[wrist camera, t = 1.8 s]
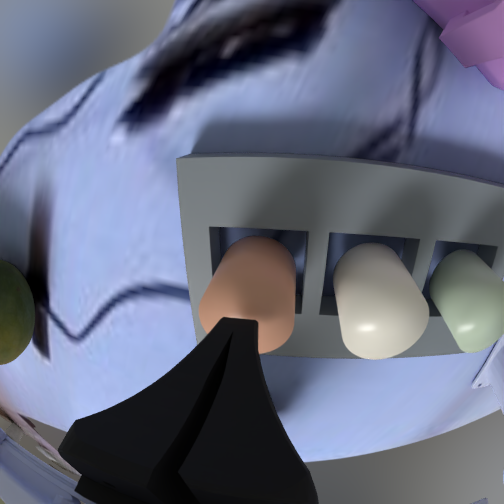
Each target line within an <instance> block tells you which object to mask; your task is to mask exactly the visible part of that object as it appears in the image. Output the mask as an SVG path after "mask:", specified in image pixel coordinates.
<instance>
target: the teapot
mask: <svg viewBox="0 0 504 504" xmlns="http://www.w3.org/2000/svg"><path fill="white" fill-rule="evenodd" d="M413 1H414V2H415V3H416V4H417V5H418V6H419V7H420V8H421V9H422V10H423V11H425V12H426V13H427V14H428V15H429V16H430V17H431V18H432V19H433V20H434V21H435V22H436V23H437V24H438V25H439V26H440V27H441V28H442V29H443V32H442V33H441V35H440V37H439V39H440V40H441V41H442V42H443V43H444V44H445V45H446V46H447V47H448V49H449V50H450V51H451V52H452V53H453V54H454V55H455V56H456V58H457V59H458V60H459V61H460V62H461V64H462V65H463V66H464V67H465V68H467V67H471V66H474V65H475V66H476V67H477V68H478V69H479V70H480V72H481V73H482V74H483V75H484V76H485V78H486V79H487V80H488V81H489V82H490V83H491V84H492V85H493V86H494V87H497V88H499V89H501V90H504V0H413Z"/></svg>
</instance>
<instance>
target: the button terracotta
mask: <svg viewBox="0 0 504 504" xmlns="http://www.w3.org/2000/svg"><path fill="white" fill-rule="evenodd" d="M295 290H296V265H295V261H294V259H293V256H292V255H291V253H290V252H289V250H288V249H287V248H286V247H285V246H284V245H283V244H281V243H280V242H278V241H276V240H274V239H272V238H269V237H265V236H248V237H244V238H242V239H239V240H238V241H236V242H235V243H233V244H232V245H231V246H230V247H229V248H228V250H227V251H226V253H225V255H224V256H223V258H222V260H221V262H220V264H219V266H218V268H217V270H216V272H215V274H214V276H213V278H212V279H211V281H210V283H209V285H208V287H207V289H206V291H205V293H204V295H203V297H202V299H201V301H200V304H199V318H200V322H201V324H202V326H203V328H204V330H205V331H206V333H207V334H208V333H209V332H210V331H211V330H212V328H213V327H214V326H215V325H216V324H217V322H218V321H219V320H220V319H221V318H222V317H230V318H241V319H252V320H256V321H257V322H258V323H259V329H258V351H259V354H262V353H266V352H270V351H272V350H275V349H277V348H278V347H280V346H281V345H283V344H284V343H285V342H286V341H287V340H288V338H289V337H290V335H291V334H292V331H293V328H294V318H295Z"/></svg>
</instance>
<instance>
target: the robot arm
mask: <svg viewBox="0 0 504 504" xmlns="http://www.w3.org/2000/svg"><path fill="white" fill-rule="evenodd" d="M258 329H259V323H258V322H257V321H256V320H252V319H241V318H230V317H222V318H221V319H220V320H219V321H218V322H217V324H216V325H215V326H214V327H213V328H212V330H211V331H210V332H209V333H208V334H207V335H206V336H205V337H204V339H203V340H202V341H201V342H200V343H199V344H198V345H197V346H196V347H195V348H194V349H193V350H192V351H191V352H190V353H189V354H188V355H187V356H186V357H185V358H184V359H182V360H181V361H180V362H179V363H178V364H177V365H176V366H175V367H174V368H172V369H171V370H170V371H169V372H167V373H166V374H165V375H164V376H162V377H161V378H160V379H158V380H157V381H156V382H154V383H153V384H151V385H150V386H148V387H147V388H145V389H144V390H142V391H140V392H139V393H137V394H135V395H134V396H132V397H130V398H128V399H126V400H124V401H122V402H120V403H118V404H116V405H114V406H112V407H110V408H108V409H106V410H103V411H101V412H98V413H95V414H93V415H90V416H87V417H84V418H81V419H78V420H75V422H74V423H73V425H72V426H71V427H70V429H69V431H68V432H67V434H66V436H65V438H64V439H63V441H62V443H61V445H60V446H59V448H58V452H59V454H60V456H61V457H62V458H63V459H64V460H65V461H66V462H68V463H69V464H70V465H71V466H72V467H73V468H74V469H76V470H77V471H78V472H79V473H80V474H82V476H81V478H80V480H79V482H76V481H74V480H73V479H71V478H69V477H67V476H66V475H64V474H62V473H60V472H59V471H57V470H56V469H54V468H52V467H51V466H49V465H48V464H46V463H44V462H43V461H41V460H40V459H38V458H37V457H35V456H34V455H33V454H31V453H30V452H28V451H27V450H26V449H24V448H23V447H21V446H20V445H19V444H17V443H16V442H15V441H14V440H12V439H11V438H10V437H9V436H7V435H6V433H5V432H4V431H3V430H2V429H1V428H0V498H1V499H2V500H3V501H4V502H5V503H6V504H81V503H80V501H82V502H84V503H86V504H318V496H317V492H316V489H315V486H314V483H313V480H312V477H311V474H310V471H309V470H308V468H307V467H306V465H305V464H304V462H303V461H302V459H301V458H300V456H299V454H298V453H297V451H296V450H295V448H294V446H293V444H292V442H291V441H290V439H289V437H288V435H287V433H286V431H285V429H284V427H283V425H282V423H281V421H280V419H279V417H278V415H277V412H276V410H275V407H274V405H273V402H272V400H271V397H270V394H269V391H268V388H267V385H266V382H265V378H264V375H263V371H262V367H261V362H260V357H259V351H258ZM489 385H491V387H492V389H493V391H494V394H495V396H496V398H497V400H498V403H499V405H500V407H501V410H502V412H503V414H504V334H503V335H502V336H501V337H500V338H499V339H498V341H497V343H496V345H495V347H494V349H493V350H492V352H491V354H490V356H489V357H488V359H487V361H486V362H485V364H484V366H483V367H482V369H481V371H480V372H479V374H478V375H477V377H476V378H475V380H474V381H473V383H472V385H471V386H472V388H473V389H476V388H480V387H485V386H489ZM503 482H504V471H503ZM79 500H80V501H79ZM472 504H488V500H487V498H483V499H481V500H479V501H476V502H474V503H472Z"/></svg>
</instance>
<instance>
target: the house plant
mask: <svg viewBox="0 0 504 504" xmlns="http://www.w3.org/2000/svg"><path fill="white" fill-rule="evenodd" d="M4 432H5V433H6V435H7V436H9V437H10V438H11V439H12V440H14V441H15V442H16V443H17V444H19V442H20V439H21V437H22V434H23V431H22V430H21V429H20V428H19V427H18V426H17V425H16V424H14V423H12V424H11V425H10V426H9V427H8V428H7V429H6V430H5V431H4Z"/></svg>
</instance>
